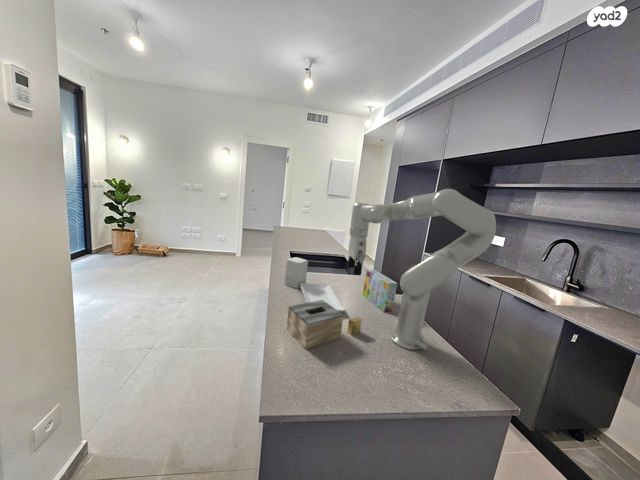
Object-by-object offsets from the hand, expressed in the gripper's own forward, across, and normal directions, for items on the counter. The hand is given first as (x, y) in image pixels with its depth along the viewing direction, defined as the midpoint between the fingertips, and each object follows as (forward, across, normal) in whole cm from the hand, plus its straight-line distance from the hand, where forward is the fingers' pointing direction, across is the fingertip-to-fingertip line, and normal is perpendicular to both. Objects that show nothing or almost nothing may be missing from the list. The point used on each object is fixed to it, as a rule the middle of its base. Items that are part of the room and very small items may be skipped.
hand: (353, 270), depth 116 cm
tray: (+22, +17, +10) cm, 30 cm away
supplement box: (+22, +37, +22) cm, 48 cm away
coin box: (+22, -14, +18) cm, 31 cm away
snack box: (+23, +18, -20) cm, 35 cm away
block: (+22, -12, +1) cm, 25 cm away
